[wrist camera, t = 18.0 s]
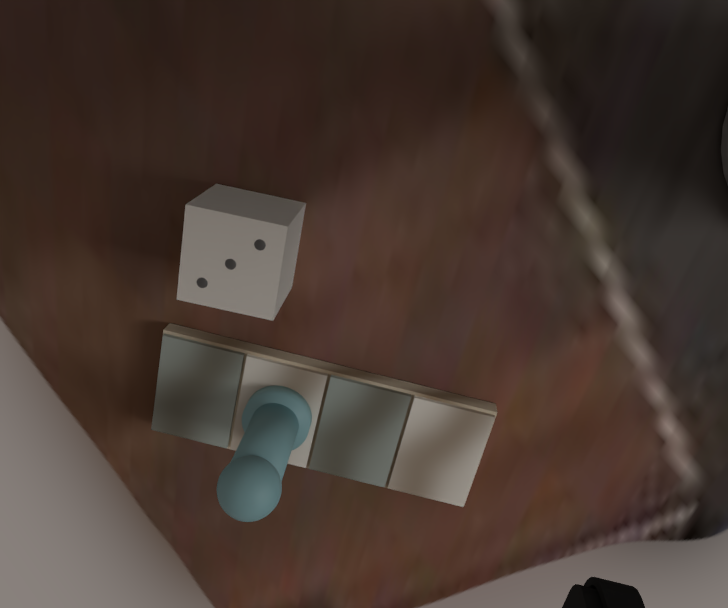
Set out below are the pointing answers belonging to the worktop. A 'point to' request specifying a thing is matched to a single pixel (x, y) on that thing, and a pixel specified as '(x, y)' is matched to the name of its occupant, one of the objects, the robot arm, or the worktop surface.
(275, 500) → the pawn
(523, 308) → the worktop surface
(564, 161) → the worktop surface
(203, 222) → the die
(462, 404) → the board
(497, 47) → the worktop surface
